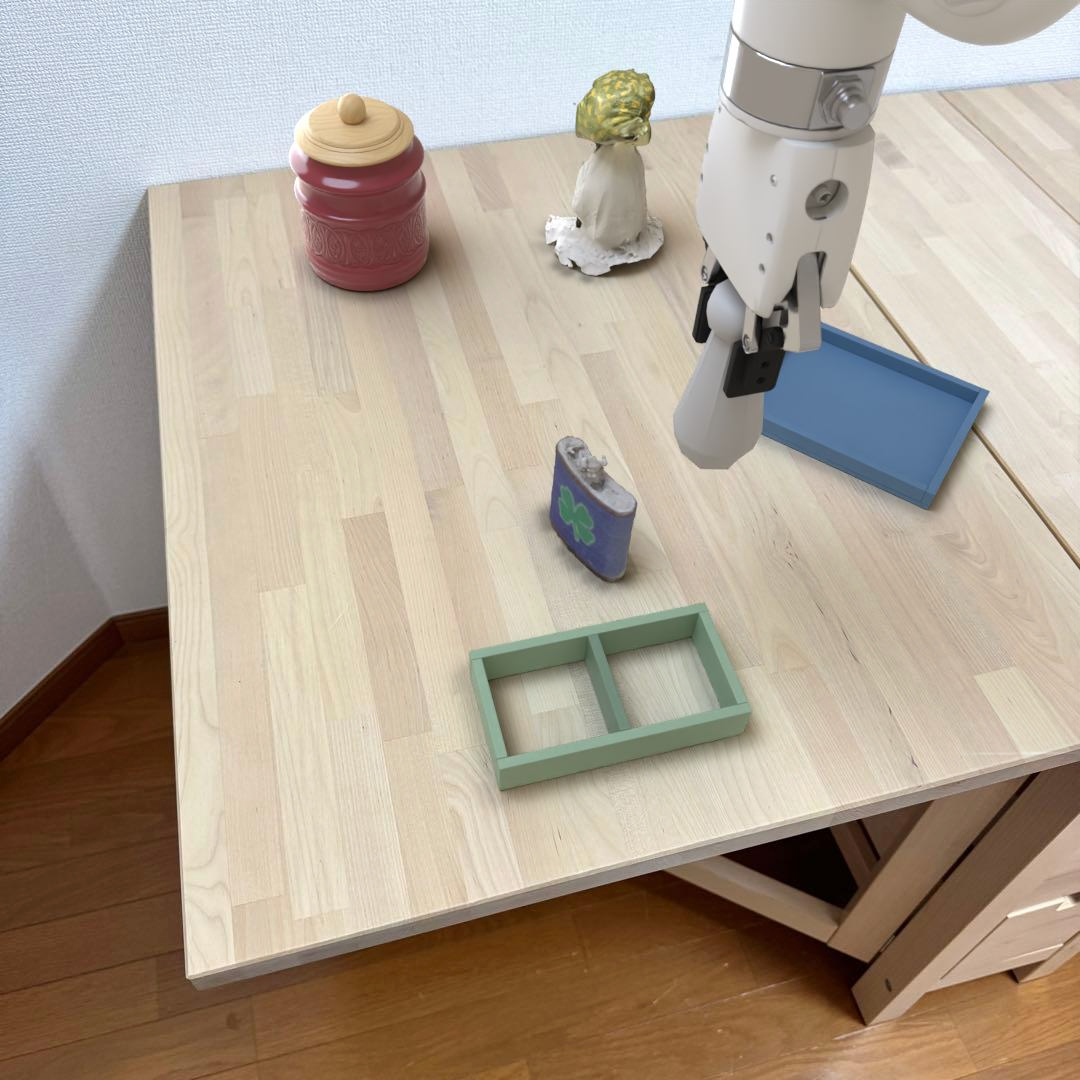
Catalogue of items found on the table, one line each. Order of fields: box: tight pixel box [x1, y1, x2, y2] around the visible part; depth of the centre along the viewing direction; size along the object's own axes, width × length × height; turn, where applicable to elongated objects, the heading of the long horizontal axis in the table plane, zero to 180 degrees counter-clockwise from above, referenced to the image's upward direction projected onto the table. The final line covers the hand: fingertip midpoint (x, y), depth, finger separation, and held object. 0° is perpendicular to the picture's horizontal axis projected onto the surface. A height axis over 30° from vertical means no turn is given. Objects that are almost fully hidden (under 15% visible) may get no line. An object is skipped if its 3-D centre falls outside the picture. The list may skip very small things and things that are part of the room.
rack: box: [468, 601, 753, 791], centre depth 73 cm, size 18×10×4 cm, turn 105°
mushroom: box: [545, 68, 665, 277], centre depth 102 cm, size 12×13×18 cm
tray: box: [761, 321, 991, 511], centre depth 94 cm, size 20×16×2 cm
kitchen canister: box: [288, 92, 430, 292], centre depth 99 cm, size 13×13×18 cm
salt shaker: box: [672, 279, 781, 471], centre depth 62 cm, size 6×6×13 cm
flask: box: [548, 435, 638, 583], centre depth 79 cm, size 9×3×11 cm, turn 34°
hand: (732, 361), depth 61 cm, fingers closed on salt shaker, 4 cm apart
